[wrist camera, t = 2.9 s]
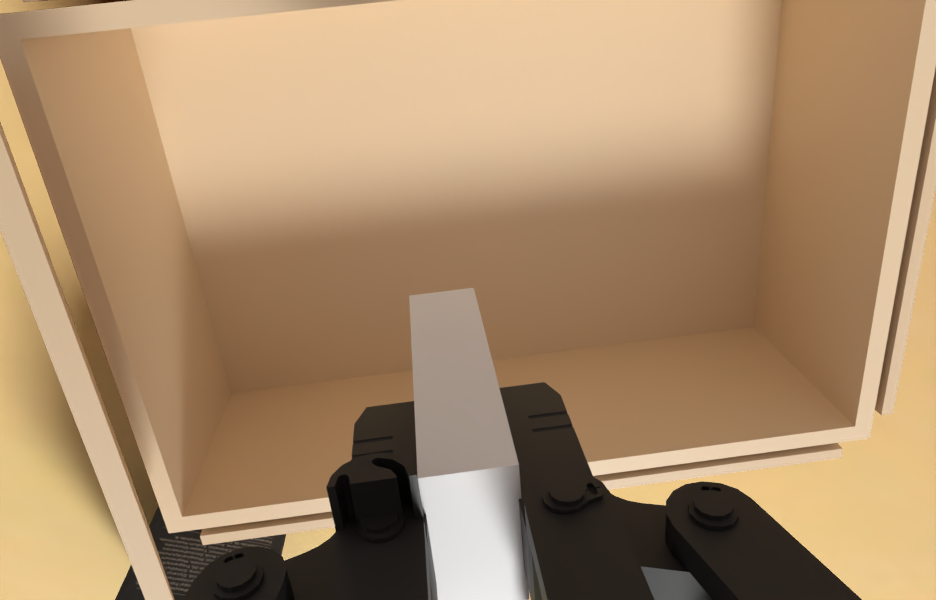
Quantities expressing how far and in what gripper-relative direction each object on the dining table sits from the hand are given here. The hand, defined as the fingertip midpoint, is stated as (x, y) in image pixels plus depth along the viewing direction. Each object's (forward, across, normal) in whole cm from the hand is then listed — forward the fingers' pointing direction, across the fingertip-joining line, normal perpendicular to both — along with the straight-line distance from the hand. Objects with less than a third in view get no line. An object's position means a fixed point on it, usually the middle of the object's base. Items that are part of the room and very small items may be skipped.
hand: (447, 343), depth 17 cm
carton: (+13, +2, 0) cm, 13 cm away
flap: (+4, -10, 0) cm, 11 cm away
